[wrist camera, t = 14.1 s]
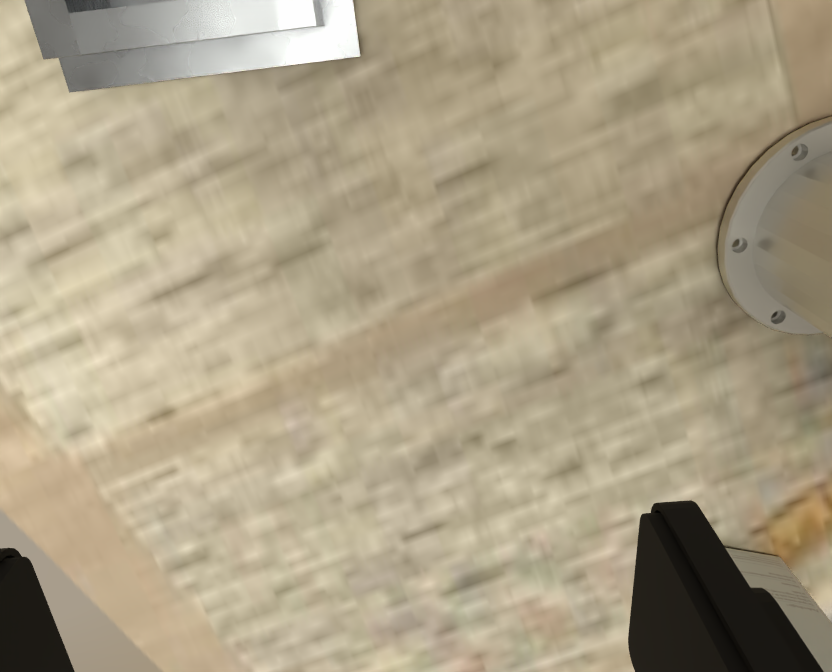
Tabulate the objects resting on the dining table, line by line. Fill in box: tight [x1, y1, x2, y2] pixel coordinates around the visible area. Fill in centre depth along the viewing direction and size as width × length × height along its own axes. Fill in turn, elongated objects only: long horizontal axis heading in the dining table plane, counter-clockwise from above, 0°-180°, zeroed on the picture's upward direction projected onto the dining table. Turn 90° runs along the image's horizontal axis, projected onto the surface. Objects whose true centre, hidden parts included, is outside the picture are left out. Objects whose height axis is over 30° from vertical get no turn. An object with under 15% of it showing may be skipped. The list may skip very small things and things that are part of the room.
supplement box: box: [725, 548, 832, 672], centre depth 44 cm, size 7×7×13 cm
